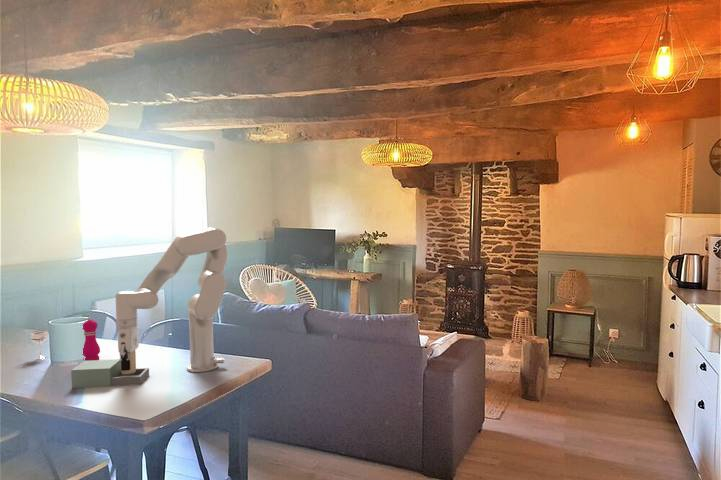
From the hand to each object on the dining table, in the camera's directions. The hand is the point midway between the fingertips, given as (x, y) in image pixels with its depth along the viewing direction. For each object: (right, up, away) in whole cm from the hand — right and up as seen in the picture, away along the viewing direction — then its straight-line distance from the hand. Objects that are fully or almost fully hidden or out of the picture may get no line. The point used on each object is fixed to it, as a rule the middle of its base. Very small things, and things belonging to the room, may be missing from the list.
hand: (128, 367), depth 202 cm
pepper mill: (-29, -4, +27) cm, 40 cm away
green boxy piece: (-6, -5, 0) cm, 8 cm away
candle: (0, -2, 0) cm, 2 cm away
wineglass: (-56, -4, +33) cm, 65 cm away
